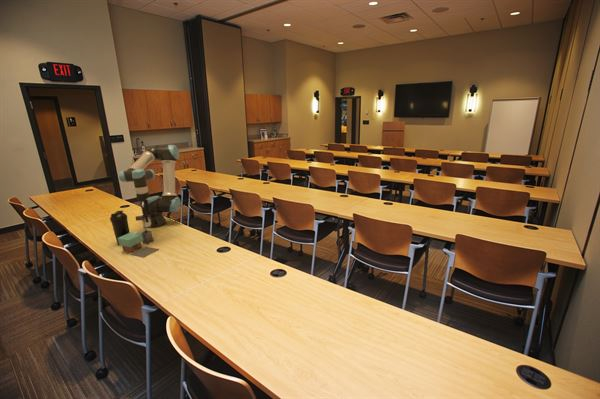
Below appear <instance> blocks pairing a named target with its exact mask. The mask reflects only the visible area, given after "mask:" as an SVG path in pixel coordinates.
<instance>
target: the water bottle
mask: <svg viewBox="0 0 600 399" xmlns="http://www.w3.org/2000/svg"><path fill="white" fill-rule="evenodd" d="M110 214H111V215H110V218H109V221H110V222H111V226H112V229H113V232H114V236H115V240H116V243H117V246H120V245H119V242H118V238H119V237H121V236H124V235H126V234H128V233H131V232H130V227H129V221H128V215H127V214H126V213H124V210H117V211H116V212H114V213H110Z"/></svg>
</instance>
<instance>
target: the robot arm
mask: <svg viewBox="0 0 600 399" xmlns="http://www.w3.org/2000/svg"><path fill="white" fill-rule="evenodd" d="M179 159H180V152H179V149H178V147H177V145H174V144H161V145H160V144H159V145H157V144H156V145H153V146H150V147H149V148H147V149H146V150H144V151H143V152H142V154H141V156H140V157H139V158H138V159H137V160H136V161H135V162H133V164H131V166H130V167H128V169H126V170H121V171H120V172H119V173H118V179H119V181H121V182H122V183H125V182H126V183H131V182H133V185H134V189H133V190H134V191H135V196H136V200H137V201H138V200H140V204H139V205H140V208H141V212H142V216H143V218H144V219H145V224H146V227H147V229H148V228H149V229H154V228H155V229H156V228H160V227H162V226H165V225H166V224H167V219H166V217H165V216H164V214H163V213H175V212H178V211H179V210H180V207H181V199H180V197H179V196H178V194H177V193H176V166H175V164H177V161H178V160H179ZM154 161H160V162H161V163H162V172H163V173H162V174H163V175H162V177H163V183H162V184H163V194H162V195H161V197H160V195H153V196H150V193H149V187H148V182H151V181H152V180H153V179H155V178H156V173H155V171H154V170H153V169H152V168H151V169H150V168H148V169H146V168H147V167H148V166H149V164H151V163H153V162H154ZM148 216H150V218H151V219H150V220H149V217H148Z"/></svg>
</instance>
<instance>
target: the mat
mask: <svg viewBox="0 0 600 399" xmlns="http://www.w3.org/2000/svg"><path fill="white" fill-rule="evenodd" d="M159 250H160V249H159V248H155V247H149V246H144V247H142V248H141V249H139V250H137V251H135V252H133V253H129V255H130V256H132V257H134V256H135V257H139V258H147V256H149V255H151V254H153V253H156V252H157V251H159Z"/></svg>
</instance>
